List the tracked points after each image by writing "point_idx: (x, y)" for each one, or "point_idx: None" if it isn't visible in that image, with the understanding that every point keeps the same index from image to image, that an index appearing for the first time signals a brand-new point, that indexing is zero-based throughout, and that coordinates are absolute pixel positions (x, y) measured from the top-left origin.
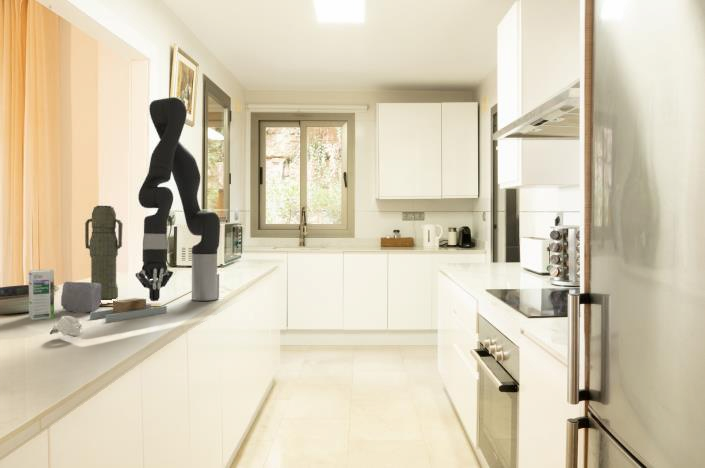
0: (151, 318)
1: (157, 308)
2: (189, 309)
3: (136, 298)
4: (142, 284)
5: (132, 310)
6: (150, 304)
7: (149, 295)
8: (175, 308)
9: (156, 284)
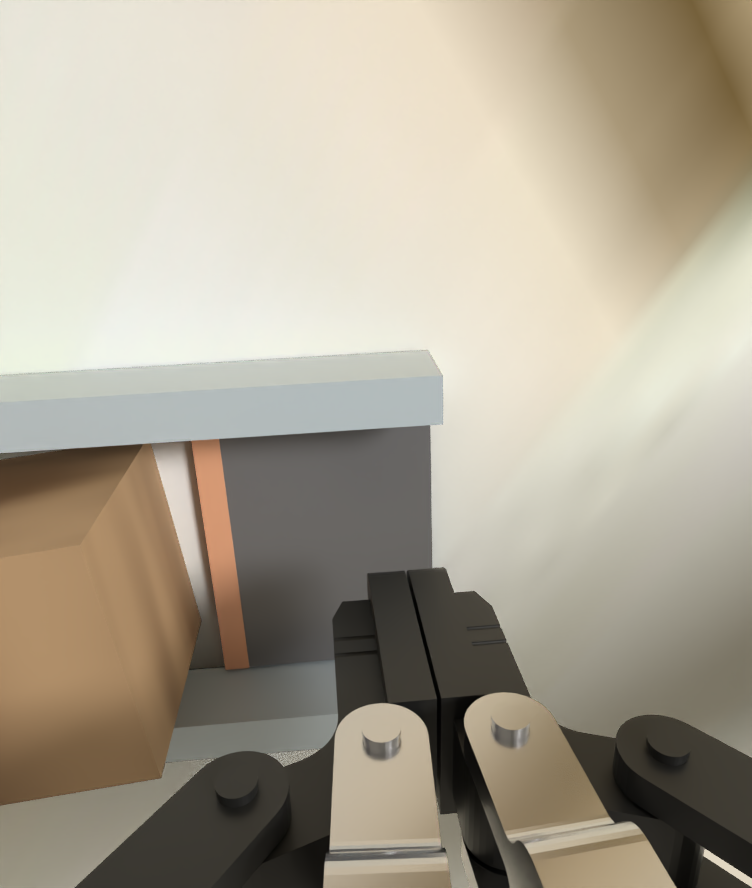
0: (113, 847)
1: (303, 741)
2: (719, 692)
3: (77, 611)
4: (128, 860)
5: None
6: (433, 424)
7: (335, 647)
8: (704, 517)
9: (560, 796)
